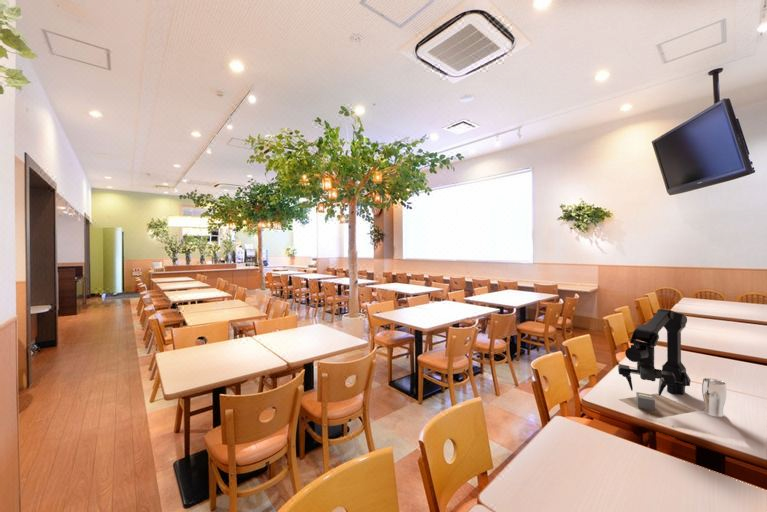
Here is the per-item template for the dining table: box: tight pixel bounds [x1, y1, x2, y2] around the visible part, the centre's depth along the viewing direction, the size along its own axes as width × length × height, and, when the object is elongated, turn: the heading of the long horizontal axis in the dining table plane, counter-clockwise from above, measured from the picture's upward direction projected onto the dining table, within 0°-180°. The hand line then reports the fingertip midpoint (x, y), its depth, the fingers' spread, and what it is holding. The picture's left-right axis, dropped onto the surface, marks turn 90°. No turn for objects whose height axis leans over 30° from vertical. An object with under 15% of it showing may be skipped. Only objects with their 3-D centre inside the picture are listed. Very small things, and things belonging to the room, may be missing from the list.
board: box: [618, 393, 697, 419], centre depth 138 cm, size 22×16×2 cm
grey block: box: [635, 391, 655, 411], centre depth 137 cm, size 6×6×5 cm
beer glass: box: [701, 377, 727, 418], centre depth 130 cm, size 7×7×15 cm
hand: (645, 392), depth 137 cm, fingers open, 9 cm apart
